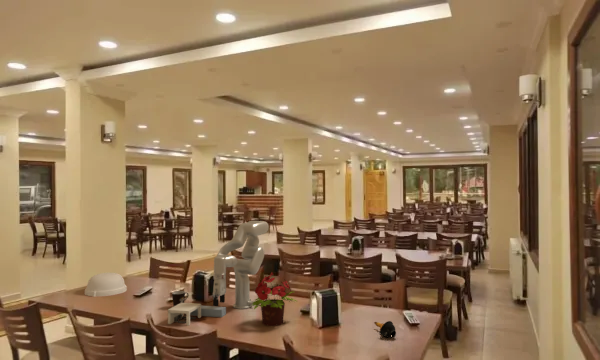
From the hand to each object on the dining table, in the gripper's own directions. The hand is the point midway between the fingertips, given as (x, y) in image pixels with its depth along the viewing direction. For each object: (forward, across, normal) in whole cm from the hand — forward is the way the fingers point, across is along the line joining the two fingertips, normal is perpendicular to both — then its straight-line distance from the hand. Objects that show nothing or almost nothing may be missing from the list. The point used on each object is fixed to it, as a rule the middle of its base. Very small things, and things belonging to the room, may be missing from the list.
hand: (219, 304), depth 272 cm
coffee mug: (+7, +13, +33) cm, 36 cm away
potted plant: (+7, -8, -37) cm, 38 cm away
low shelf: (+8, -13, +16) cm, 22 cm away
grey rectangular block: (+7, +1, +9) cm, 12 cm away
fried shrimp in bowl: (+7, -12, -102) cm, 103 cm away
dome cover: (+7, +42, +112) cm, 120 cm away
